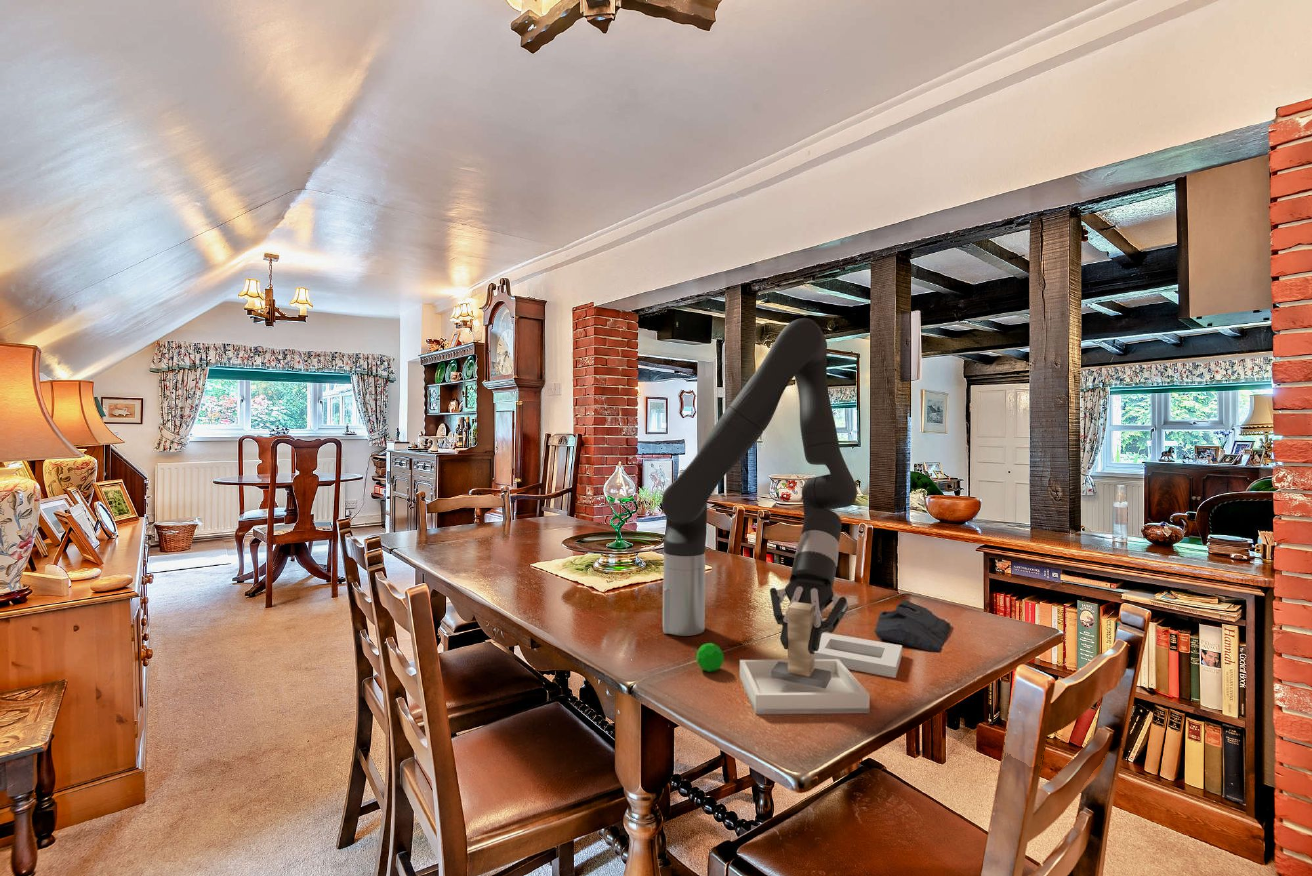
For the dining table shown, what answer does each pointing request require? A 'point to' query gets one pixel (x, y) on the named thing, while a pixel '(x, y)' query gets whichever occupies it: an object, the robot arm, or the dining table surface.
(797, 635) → the wooden post on base
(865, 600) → the dining table surface
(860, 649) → the slot plate
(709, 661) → the polyhedron
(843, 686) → the tray
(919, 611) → the dark slate chunk
